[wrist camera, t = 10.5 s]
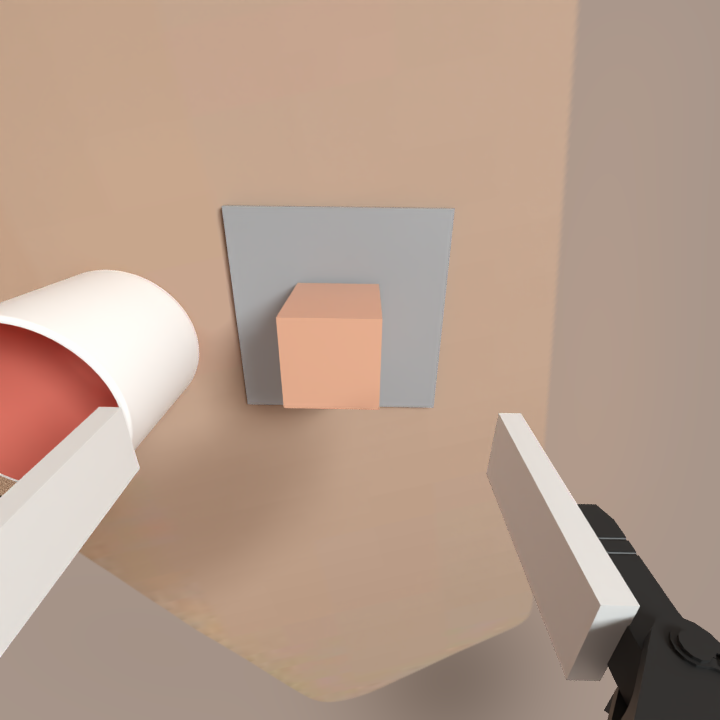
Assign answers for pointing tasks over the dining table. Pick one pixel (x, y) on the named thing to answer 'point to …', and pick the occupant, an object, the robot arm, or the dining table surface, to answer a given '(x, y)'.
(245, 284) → the grey square plate
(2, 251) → the dining table surface
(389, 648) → the dining table surface
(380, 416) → the dining table surface
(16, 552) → the robot arm
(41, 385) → the cup
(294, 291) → the peach toy cube
